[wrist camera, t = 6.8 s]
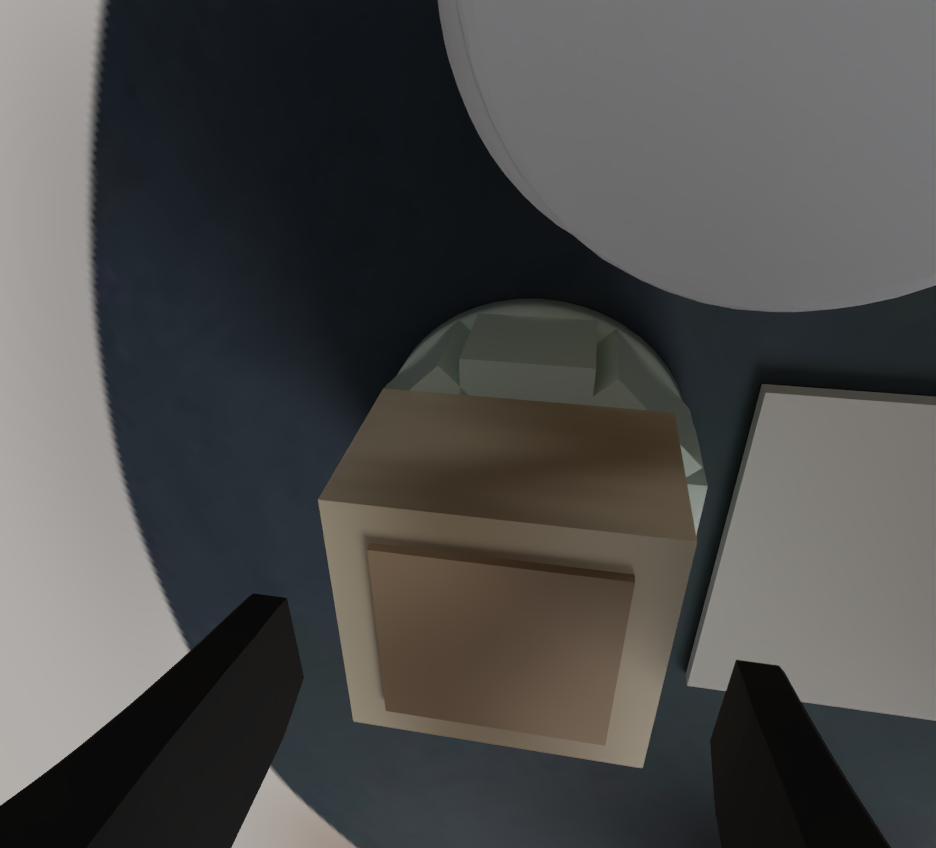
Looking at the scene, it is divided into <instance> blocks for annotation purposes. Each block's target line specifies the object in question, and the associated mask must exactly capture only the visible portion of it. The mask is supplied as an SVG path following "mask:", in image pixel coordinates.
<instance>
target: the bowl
mask: <svg viewBox="0 0 936 848" xmlns="http://www.w3.org/2000/svg"><path fill="white" fill-rule="evenodd" d="M385 388H386V389H398V390H410V391H422V392H434V393H446V394H458V395H470V396H482V397H494V398H506V399H518V400H530V401H542V402H554V403H566V404H579V405H591V406H603V407H615V408H627V409H639V410H651V411H663V412H675V418H676V424H677V429H678V435H679V441H680V446H681V452H682V458H683V463H684V469H685V475H686V480H687V486H688V492H689V498H690V503H691V509H692V515H693V520H694V526H695V532H696V534H697V530H698V526H699V521H700V517H701V513H702V509H703V504H704V500H705V496H706V491H707V487H708V485H707V480H706V476H705V471H704V467H703V462H702V457H701V453H700V448H699V444H698V439H697V435H696V430H695V426H693V422H692V417H691V412H690V409H689V408H688V407H687V406H686V405H685V404H684V400H683V398H682V395H681V392H680V390H679V387H678V385H677V382H676V381H675V379H674V377H673V375H672V374H671V372H670V370H669V368H668V367H667V365H666V364H665V363H664V362H663V360H662V359H661V358H660V357H659V355H658V354H657V353H656V351H655V350H654V349H652V348H651V347H650V346H649V345H648V344H647V343H646V342H645V341H644V340H643V339H642V338H641V337H640V336H638V335H637V334H636V333H634V332H633V331H631V330H630V329H629V328H627V327H626V326H625V325H623V324H621V323H619V322H618V321H616V320H614V319H612V318H610V317H608V316H606V315H605V314H602V313H600V312H597V311H594V310H592V309H589V308H587V307H584V306H580V305H576V304H572V303H568V302H564V301H557V300H549V299H541V298H533V299H511V300H504V301H496V302H493V303H489V304H485V305H481V306H478V307H475V308H472V309H470V310H467V311H465V312H463V313H460V314H458V315H456V316H454V317H453V318H451V319H449V320H447V321H446V322H444V323H442V324H441V325H439V326H438V327H437V328H436V329H434V330H433V331H432V332H430V333H429V334H428V335H427V336H426V337H425V338H424V339H423V340H422V341H421V342H420V343H419V344H418V345H417V346H416V347H415V348H414V349H413V351H412V352H411V354H410V355H409V357H408V358H407V359H406V361H405V362H404V364H403V366H402V367H401V369H400V371H399V373H398V374H397V376H396V377H395V378H394V379H393V380H391V381H390V382H389V383H388V384H387V385H386V386H385Z"/></svg>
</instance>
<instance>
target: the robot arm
mask: <svg viewBox="0 0 936 848" xmlns="http://www.w3.org/2000/svg"><path fill="white" fill-rule="evenodd" d="M303 678H304V676H303V671H302V666H301V662H300V657H299V653H298V648H297V643H296V639H295V634H294V629H293V625H292V620H291V615H290V611H289V606H288V602H287V598H282V597H275V596H267V595H260V594H252V595H251V596H249V597H248V598H247V599H246V600H245V601H244V602H243V603H241V604H240V605H239V606H238V607H237V608H236V609H235V610H234V611H233V612H232V613H231V614H230V615H228V616H227V617H226V618H225V619H224V620H223V621H222V622H221V623H220V624H219V625H218V626H217V627H216V628H215V629H213V630H212V631H211V632H210V633H209V634H208V635H207V636H206V637H205V638H204V639H203V640H202V641H201V642H200V643H198V644H197V645H196V646H195V647H194V648H193V649H192V650H191V651H190V652H189V653H188V654H186V655H185V656H184V657H183V658H182V659H181V660H180V661H179V662H178V663H177V664H176V665H174V667H172V668H171V669H170V670H169V671H168V672H167V673H165V674H164V675H163V676H162V677H161V678H160V679H159V680H158V681H156V682H155V683H154V684H153V685H152V686H151V687H150V688H148V690H146V691H145V692H144V693H143V694H142V695H141V696H139V697H138V698H137V699H136V700H135V701H134V702H133V703H131V704H130V705H129V706H128V707H127V708H125V709H124V710H123V711H122V712H121V713H119V714H118V715H117V716H116V717H115V718H113V719H112V720H111V721H110V722H109V723H107V724H106V725H105V726H104V727H102V728H101V729H100V730H99V731H98V732H96V733H95V734H94V735H93V736H92V737H90V738H89V739H88V740H87V741H86V742H84V743H83V744H82V745H81V746H79V747H78V748H77V749H76V750H74V751H73V752H72V753H70V754H69V755H68V756H67V757H65V758H64V759H63V760H61V761H60V762H59V763H58V764H56V765H55V766H54V767H52V768H51V769H50V770H49V771H47V772H46V773H44V774H43V775H42V776H41V777H39V778H38V779H36V780H35V781H34V782H32V783H31V784H30V785H28V786H27V787H26V788H24V789H23V790H22V791H20V792H19V793H17V794H16V795H15V796H13V797H12V798H11V799H9V800H8V801H6V802H5V803H4V804H3V805H1V806H0V848H231V847H232V845H233V843H234V841H235V839H236V836H237V834H238V832H239V830H240V828H241V826H242V824H243V822H244V820H245V817H246V815H247V813H248V811H249V809H250V807H251V805H252V803H253V800H254V798H255V797H256V794H257V792H258V790H259V788H260V786H261V784H262V782H263V780H264V778H265V776H266V773H267V771H268V769H269V767H270V765H271V763H272V761H273V759H274V756H275V754H276V752H277V750H278V748H279V746H280V743H281V741H282V739H283V737H284V734H285V731H286V728H287V725H288V723H289V720H290V717H291V714H292V711H293V708H294V705H295V702H296V699H297V696H298V693H299V690H300V687H301V684H302V681H303ZM710 742H711V758H712V773H713V786H714V798H715V810H716V817H717V823H718V829H719V835H720V840H721V846H722V848H891V847H890V845H889V844H888V842H887V841H886V839H885V838H884V837H883V835H882V833H881V832H880V830H879V829H878V827H877V826H876V824H875V823H874V821H873V819H872V818H871V816H870V815H869V813H868V812H867V810H866V809H865V807H864V805H863V804H862V802H861V801H860V799H859V798H858V796H857V795H856V793H855V791H854V790H853V788H852V787H851V785H850V784H849V782H848V780H847V779H846V777H845V776H844V774H843V772H842V771H841V769H840V767H839V766H838V764H837V763H836V761H835V759H834V758H833V756H832V754H831V752H830V751H829V749H828V747H827V746H826V744H825V742H824V741H823V739H822V737H821V736H820V734H819V732H818V731H817V729H816V727H815V725H814V724H813V722H812V720H811V719H810V717H809V715H808V713H807V711H806V710H805V708H804V706H803V704H802V703H801V701H800V699H799V697H798V695H797V694H796V692H795V690H794V688H793V686H792V685H791V683H790V681H789V679H788V677H787V676H786V674H785V672H784V671H783V670H782V669H781V667H780V666H778V665H771V664H764V663H756V662H749V661H742V660H736V662H735V665H734V668H733V671H732V674H731V677H730V680H729V684H728V687H727V690H726V693H725V696H724V699H723V703H722V706H721V709H720V712H719V715H718V718H717V721H716V725H715V728H714V731H713V734H712V737H711V740H710Z"/></svg>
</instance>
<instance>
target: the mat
mask: <svg viewBox="0 0 936 848" xmlns="http://www.w3.org/2000/svg"><path fill="white" fill-rule="evenodd" d="M736 660H742V661H749V662H756V663H764V664H771V665H778V666H780V667H781V669H782V670H783V671H784V672H785V674H786V676H787V677H788V679H789V681H790V683H791V685H792V686H793V688H794V690H795V692H796V694H797V695H798V697H799V699H800V701H801V702H806V703H814V704H821V705H828V706H835V707H842V708H849V709H856V710H863V711H870V712H878V713H885V714H892V715H899V716H906V717H913V718H920V719H927V720H934V721H936V397H934V396H920V395H907V394H893V393H879V392H865V391H852V390H838V389H824V388H810V387H797V386H783V385H769V384H762V385H761V389H760V393H759V397H758V401H757V404H756V408H755V412H754V416H753V420H752V423H751V427H750V431H749V435H748V439H747V443H746V446H745V450H744V454H743V458H742V462H741V465H740V469H739V473H738V477H737V481H736V485H735V488H734V492H733V496H732V500H731V504H730V507H729V511H728V515H727V519H726V523H725V526H724V530H723V534H722V538H721V542H720V546H719V549H718V553H717V557H716V561H715V565H714V568H713V572H712V576H711V580H710V584H709V588H708V591H707V595H706V599H705V603H704V607H703V610H702V614H701V618H700V622H699V626H698V630H697V633H696V637H695V641H694V645H693V649H692V652H691V656H690V660H689V664H688V668H687V672H686V680H687V686H693V687H700V688H707V689H714V690H721V691H726V690H727V687H728V684H729V680H730V677H731V674H732V671H733V668H734V665H735V662H736Z"/></svg>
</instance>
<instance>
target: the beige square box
mask: <svg viewBox="0 0 936 848" xmlns="http://www.w3.org/2000/svg"><path fill="white" fill-rule="evenodd" d="M318 503H319V509H320V515H321V522H322V528H323V534H324V540H325V547H326V553H327V559H328V565H329V572H330V578H331V584H332V590H333V597H334V603H335V609H336V615H337V622H338V628H339V634H340V640H341V647H342V653H343V659H344V665H345V671H346V678H347V684H348V690H349V696H350V703H351V709H352V715H353V721H354V722H360V723H366V724H372V725H378V726H385V727H391V728H397V729H403V730H409V731H415V732H422V733H428V734H434V735H440V736H446V737H452V738H458V739H465V740H471V741H477V742H483V743H489V744H495V745H502V746H508V747H514V748H520V749H526V750H532V751H539V752H545V753H551V754H557V755H563V756H569V757H575V758H582V759H588V760H594V761H600V762H606V763H612V764H619V765H625V766H631V767H637V768H643V765H644V761H645V756H646V752H647V748H648V744H649V740H650V736H651V732H652V727H653V723H654V719H655V715H656V711H657V707H658V703H659V698H660V694H661V690H662V686H663V682H664V678H665V674H666V669H667V665H668V661H669V657H670V653H671V649H672V645H673V640H674V636H675V632H676V628H677V624H678V620H679V615H680V611H681V607H682V603H683V599H684V595H685V591H686V586H687V582H688V578H689V574H690V570H691V566H692V562H693V557H694V553H695V549H696V545H697V537H696V532H695V526H694V520H693V515H692V509H691V503H690V498H689V492H688V486H687V480H686V475H685V469H684V463H683V458H682V452H681V446H680V441H679V435H678V429H677V424H676V418H675V412H663V411H651V410H639V409H627V408H615V407H603V406H591V405H579V404H566V403H554V402H542V401H530V400H518V399H506V398H494V397H482V396H470V395H458V394H446V393H434V392H422V391H410V390H398V389H386V388H383V390H382V391H381V393H380V395H379V396H378V398H377V400H376V402H375V403H374V405H373V407H372V408H371V410H370V412H369V414H368V415H367V417H366V419H365V420H364V422H363V424H362V425H361V427H360V429H359V431H358V432H357V434H356V436H355V437H354V439H353V441H352V443H351V444H350V446H349V448H348V449H347V451H346V453H345V454H344V456H343V458H342V460H341V461H340V463H339V465H338V466H337V468H336V470H335V472H334V473H333V475H332V477H331V478H330V480H329V482H328V484H327V485H326V487H325V489H324V490H323V492H322V494H321V495H320V497H319V499H318Z"/></svg>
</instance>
